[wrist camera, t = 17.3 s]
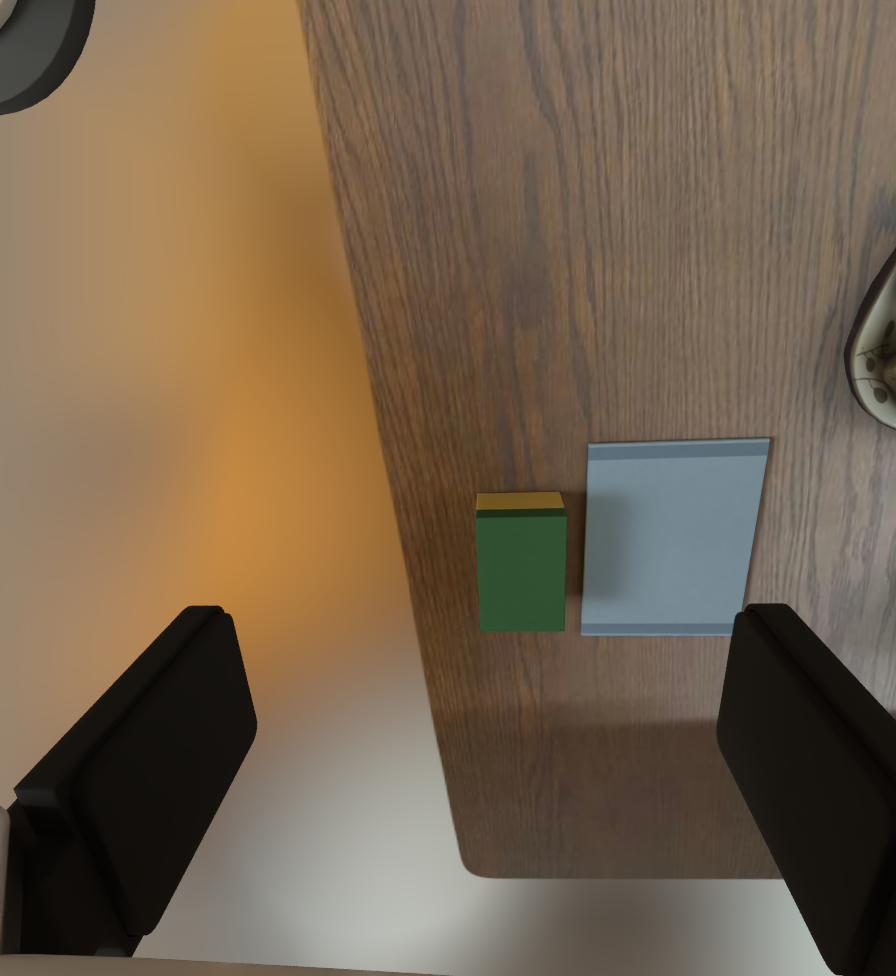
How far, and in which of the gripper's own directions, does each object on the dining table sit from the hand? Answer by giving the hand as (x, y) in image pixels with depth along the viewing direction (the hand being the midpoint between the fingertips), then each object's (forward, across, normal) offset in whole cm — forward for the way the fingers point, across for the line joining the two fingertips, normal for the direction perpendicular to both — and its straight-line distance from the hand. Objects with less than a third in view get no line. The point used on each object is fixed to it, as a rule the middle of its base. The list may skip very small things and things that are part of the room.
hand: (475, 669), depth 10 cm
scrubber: (+28, -2, +12) cm, 31 cm away
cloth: (+28, -13, +12) cm, 33 cm away
